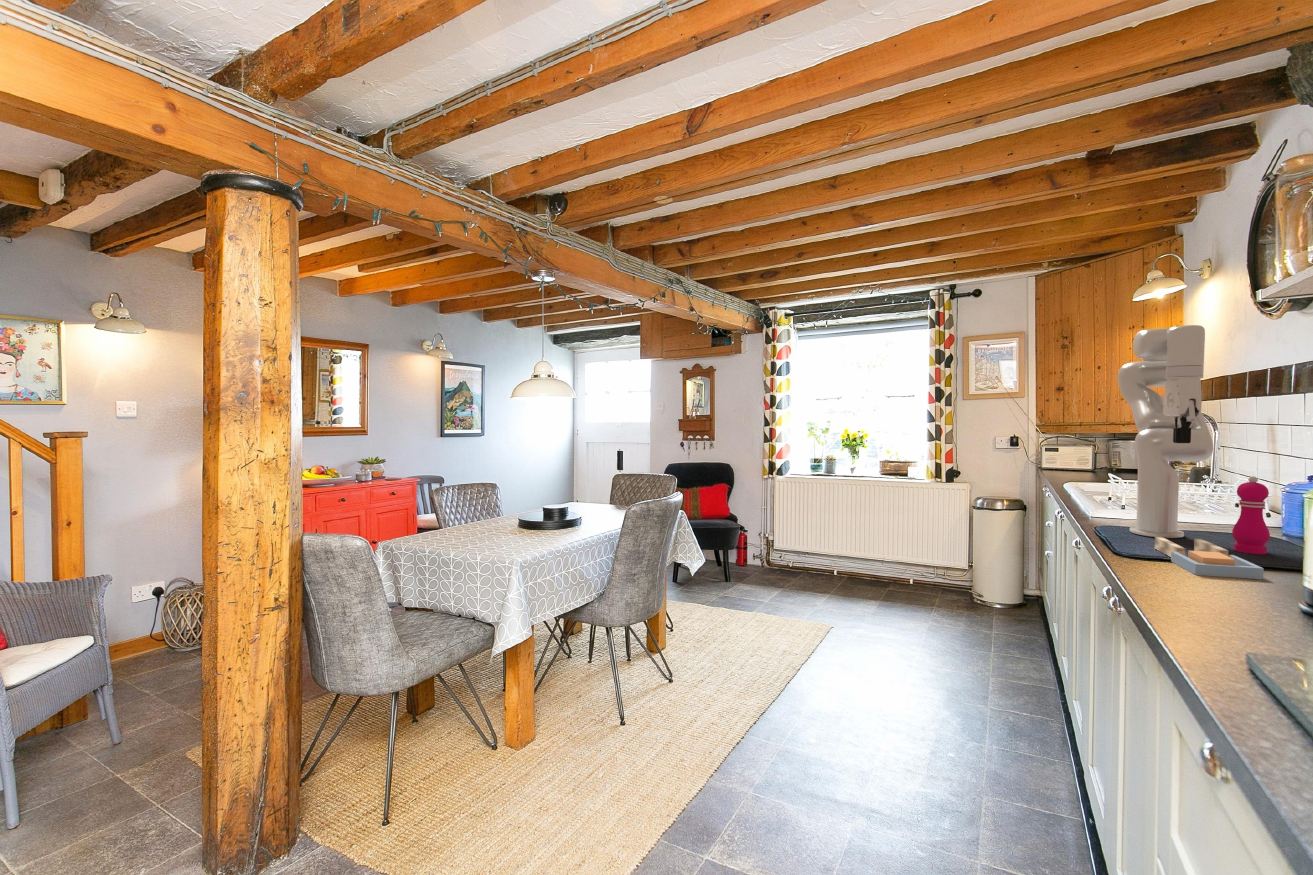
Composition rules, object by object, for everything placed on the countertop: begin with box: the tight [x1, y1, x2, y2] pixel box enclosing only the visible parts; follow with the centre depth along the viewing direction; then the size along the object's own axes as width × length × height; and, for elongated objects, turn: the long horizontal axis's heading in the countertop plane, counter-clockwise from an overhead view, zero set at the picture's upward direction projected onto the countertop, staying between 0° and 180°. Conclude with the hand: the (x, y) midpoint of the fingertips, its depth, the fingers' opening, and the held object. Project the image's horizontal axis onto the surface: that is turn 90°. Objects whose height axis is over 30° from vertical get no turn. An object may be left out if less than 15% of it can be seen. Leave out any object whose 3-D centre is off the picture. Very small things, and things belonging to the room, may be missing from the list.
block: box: [1187, 550, 1235, 565], centre depth 145 cm, size 7×6×4 cm
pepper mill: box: [1231, 475, 1271, 555], centre depth 160 cm, size 7×7×20 cm
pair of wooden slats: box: [1154, 537, 1230, 557], centre depth 157 cm, size 13×10×4 cm
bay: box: [1170, 552, 1265, 580], centre depth 145 cm, size 12×12×2 cm
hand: (1181, 442), depth 161 cm, fingers closed
